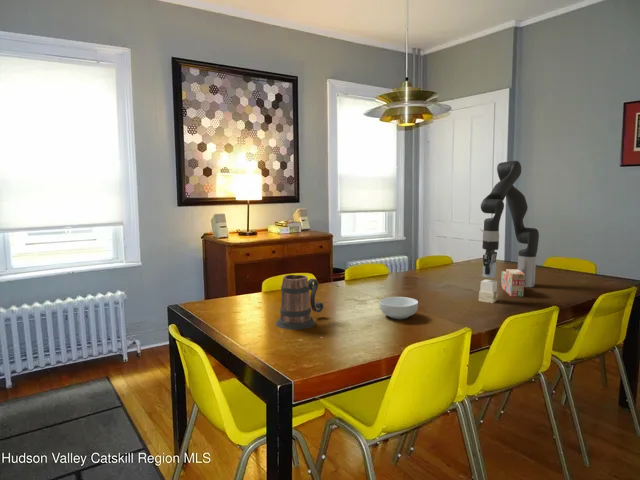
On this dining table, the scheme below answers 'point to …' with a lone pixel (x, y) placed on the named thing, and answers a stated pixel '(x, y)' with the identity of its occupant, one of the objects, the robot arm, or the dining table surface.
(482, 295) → the tower base
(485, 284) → the tower middle
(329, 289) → the dining table surface
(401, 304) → the cereal bowl
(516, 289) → the printed cardboard box
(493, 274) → the slate block
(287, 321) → the tankard
